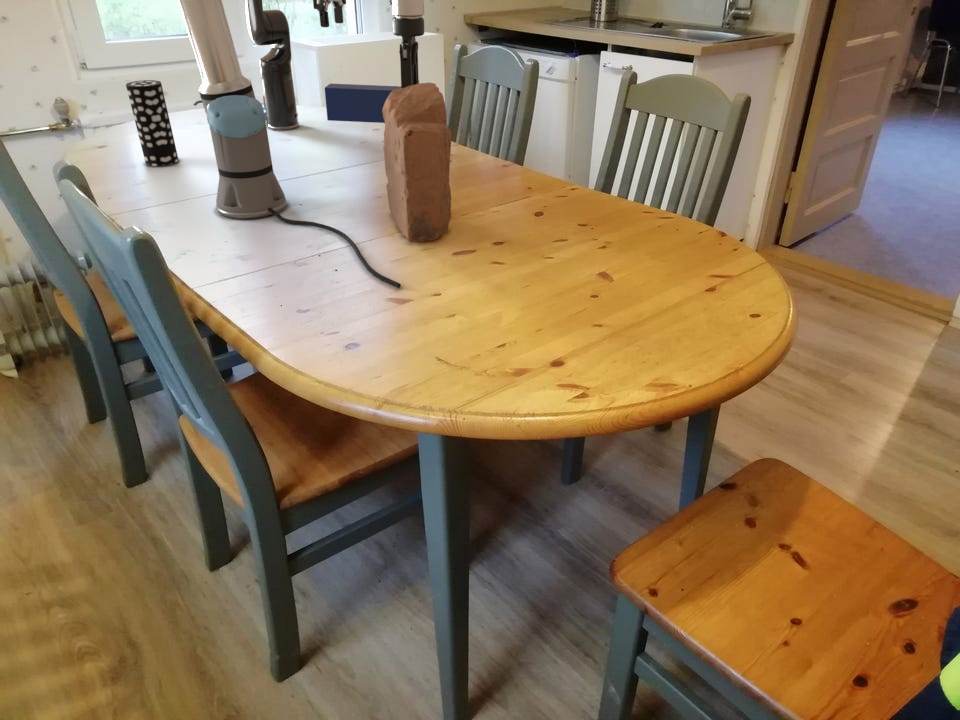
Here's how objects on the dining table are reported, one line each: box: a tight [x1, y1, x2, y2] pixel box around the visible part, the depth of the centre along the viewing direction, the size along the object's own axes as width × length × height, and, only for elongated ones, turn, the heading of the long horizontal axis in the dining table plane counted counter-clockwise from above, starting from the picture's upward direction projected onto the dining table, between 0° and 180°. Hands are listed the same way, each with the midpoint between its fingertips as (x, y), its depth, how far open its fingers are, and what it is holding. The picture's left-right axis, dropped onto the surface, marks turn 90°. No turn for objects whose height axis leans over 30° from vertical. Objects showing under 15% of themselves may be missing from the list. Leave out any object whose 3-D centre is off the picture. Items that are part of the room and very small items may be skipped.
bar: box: [324, 83, 401, 124], centre depth 173 cm, size 25×5×8 cm, turn 86°
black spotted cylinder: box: [125, 79, 179, 167], centre depth 181 cm, size 8×8×20 cm
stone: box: [382, 82, 452, 243], centre depth 143 cm, size 22×11×28 cm, turn 18°
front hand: (411, 118), depth 174 cm, fingers closed on bar, 5 cm apart
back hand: (332, 25), depth 186 cm, fingers open, 8 cm apart
